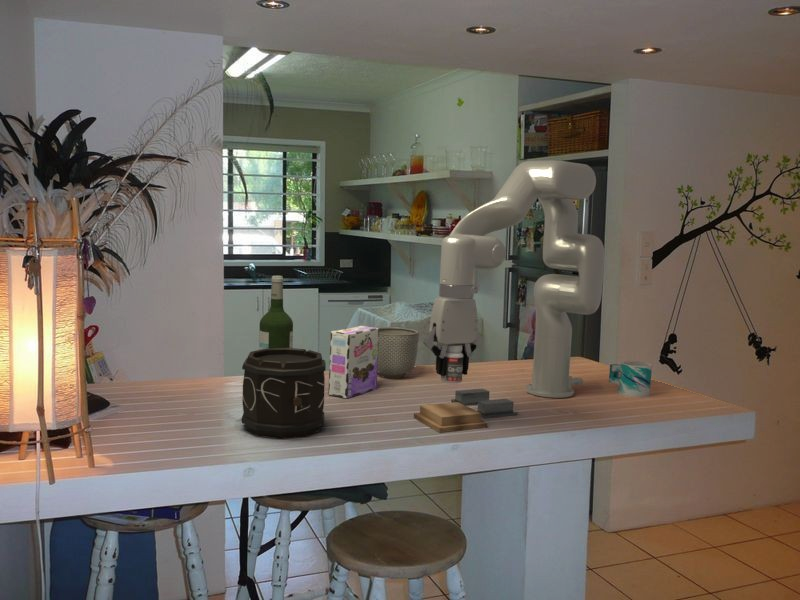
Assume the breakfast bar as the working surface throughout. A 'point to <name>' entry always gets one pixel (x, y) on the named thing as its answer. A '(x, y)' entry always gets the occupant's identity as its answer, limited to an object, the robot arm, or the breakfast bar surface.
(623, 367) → the mug
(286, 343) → the wine bottle
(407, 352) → the planter
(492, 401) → the clamp jaws
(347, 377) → the candy box
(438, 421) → the tan square pedestal
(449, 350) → the pill bottle
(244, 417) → the wooden barrel
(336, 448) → the breakfast bar surface
